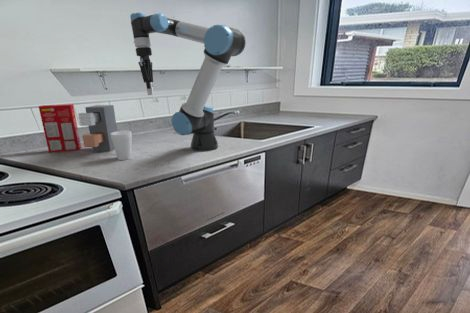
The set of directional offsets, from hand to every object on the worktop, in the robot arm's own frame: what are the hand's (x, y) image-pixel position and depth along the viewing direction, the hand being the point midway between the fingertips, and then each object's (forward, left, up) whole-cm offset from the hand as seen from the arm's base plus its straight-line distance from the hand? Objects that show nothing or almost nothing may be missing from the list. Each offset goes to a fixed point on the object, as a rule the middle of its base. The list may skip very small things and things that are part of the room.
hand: (150, 94), depth 142 cm
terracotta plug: (+5, +30, -24) cm, 39 cm away
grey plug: (+5, +30, -13) cm, 33 cm away
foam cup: (-12, +18, -30) cm, 37 cm away
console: (+12, +26, -29) cm, 41 cm away
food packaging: (+21, +47, -30) cm, 59 cm away
